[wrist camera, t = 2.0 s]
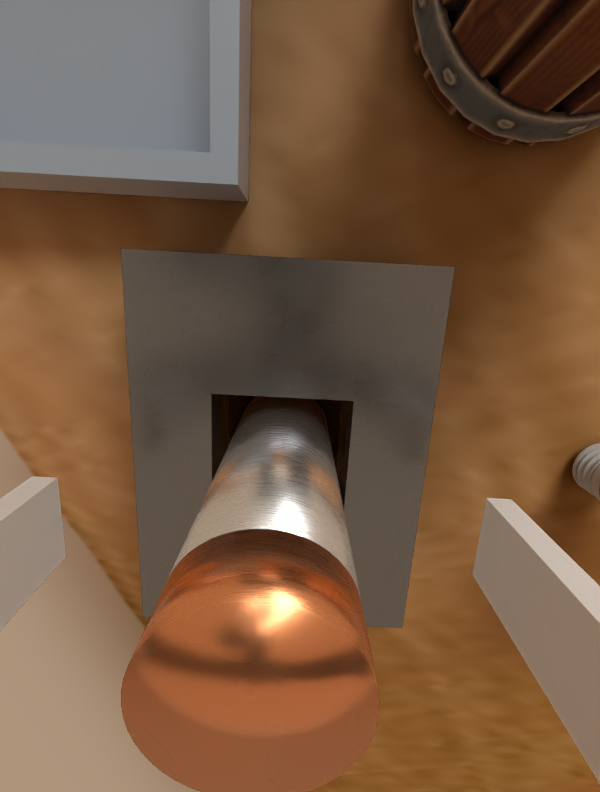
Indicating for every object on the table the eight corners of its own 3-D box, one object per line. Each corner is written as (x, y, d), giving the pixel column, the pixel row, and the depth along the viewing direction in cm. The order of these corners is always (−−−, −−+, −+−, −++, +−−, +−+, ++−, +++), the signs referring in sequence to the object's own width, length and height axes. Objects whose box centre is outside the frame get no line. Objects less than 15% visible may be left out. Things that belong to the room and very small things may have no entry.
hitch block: (159, 256, 18) (120, 248, 14) (422, 271, 18) (454, 266, 14) (170, 559, 22) (143, 616, 18) (384, 569, 22) (402, 627, 19)
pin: (241, 385, 20) (112, 597, 6) (330, 389, 20) (393, 609, 6) (239, 467, 21) (128, 795, 7) (324, 471, 21) (366, 805, 7)
